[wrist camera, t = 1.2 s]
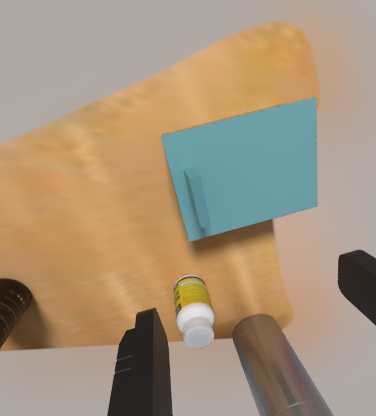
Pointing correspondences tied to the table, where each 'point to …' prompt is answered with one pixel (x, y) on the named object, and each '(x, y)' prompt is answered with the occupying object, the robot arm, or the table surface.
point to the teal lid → (245, 168)
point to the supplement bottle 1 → (11, 305)
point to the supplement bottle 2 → (194, 311)
